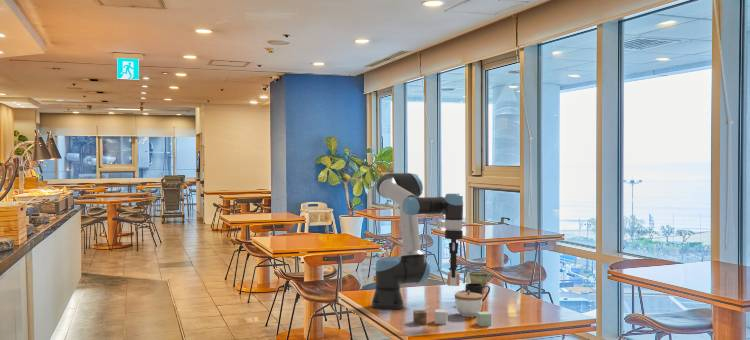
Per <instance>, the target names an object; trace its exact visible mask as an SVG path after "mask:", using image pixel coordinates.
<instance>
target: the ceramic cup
mask: <svg viewBox="0 0 750 340" xmlns="http://www.w3.org/2000/svg"><path fill="white" fill-rule="evenodd" d="M468 274H469V280H470V284H481V285H483V286H487V284H488V283H489V282H490V281H492V279H494V276H493V274H491V273H488V272H487V271H482V270H471V271H469V272H468ZM490 276H492V277H491V278H490V279H489V280H488V281H487V278H488V277H490ZM485 288H486V287H484V288H483V292H485Z"/></svg>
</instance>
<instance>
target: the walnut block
mask: <svg viewBox="0 0 750 340" xmlns="http://www.w3.org/2000/svg"><path fill="white" fill-rule="evenodd" d="M412 321H413V324H414V325H415V326H417V325H420V326H421V325H427V311H426V310H424V309H423V310H422V309H420V310H419V309H417V310H416V309H415V310H413V320H412Z"/></svg>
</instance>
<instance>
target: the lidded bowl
mask: <svg viewBox="0 0 750 340" xmlns="http://www.w3.org/2000/svg"><path fill="white" fill-rule="evenodd" d="M483 298H484V296H483V294H482V295H481V294H478V293H471V292H470V291H469V290H468V291H467V292H466V291H463V292H456V293H455V294H454V304H455V308H456V310H457V312H458V313H459V314H460V316H461V317H469V318H470V317H471V318H473V317H476V312H481V310H482V307H483V303H482V299H483Z"/></svg>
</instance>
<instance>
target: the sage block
mask: <svg viewBox="0 0 750 340" xmlns="http://www.w3.org/2000/svg"><path fill="white" fill-rule="evenodd" d="M475 318H476V319H475V322H476V325H478V326H479V327H492V313H491V312H489V311H480V312H476V316H475Z"/></svg>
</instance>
